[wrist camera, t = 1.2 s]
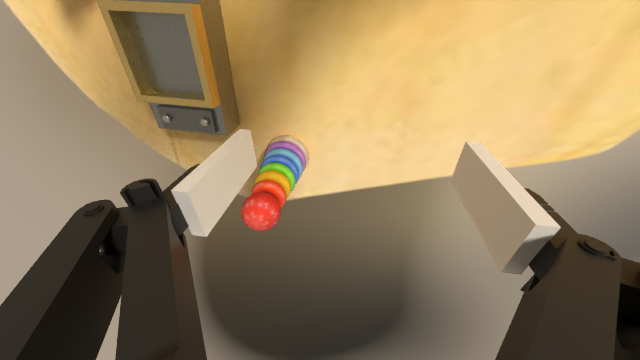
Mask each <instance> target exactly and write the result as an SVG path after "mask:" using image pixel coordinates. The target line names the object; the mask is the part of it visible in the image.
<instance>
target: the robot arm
mask: <svg viewBox="0 0 640 360" xmlns="http://www.w3.org/2000/svg"><path fill="white" fill-rule="evenodd" d="M256 167H257V162H256V157H255V151H254V146H253V141H252V136H251V131H250V130H245V129H239V130H238V131H237V132H235V133H234V134H233V135H232V136H231V137H230V138H229V139H228V140H227V141H225V142H224V143H223V144H222V145H221V146H220V147H219V148H218V149H217V150H215V151H214V152H213V153H212V154H211V155H210V156H209V157H208V158H207V159H205V160H204V161H203V162H202V163H201V164H197V165H195V166H193V167H191V168H190V169H188V170H187V171H186V172H185V173H184V174H183V175H182V176H180V177H179V178H178V180H176V181H175V182H174V183H172V184H171V185H170V186H169V187H168V188H166V189H165V190H164V191H163V192H162V190H161V188H160V186H159V184H158V182H157V181H156V180H154V179H143V180H138V181H135V182H132V183H131V184H129V185H127V186H125V187H124V188H123V189H122V190H121V192H120V194H121V195H122V197H123V198H124V200H125V201H126V203H127V204H128V206H129V207H122V208H116V207H115V205H114V204H113V203H112V201H110V200H99V201H95V202H91V203H90V204H86V205H85V206H83V207H82V208H80V209H79V210H78V211H76V212H75V213H74V215H73V216H72V217H71V218H70V220H69V221H68V222H67V223H66V225H65V226H64V227H63V228H62V230H61V231H60V232H59V233H58V235H57V236H56V237H55V238H54V240H53V241H52V242H51V243H50V245H49V246H48V247H47V248H46V250H45V251H44V252H43V253H42V255H41V256H40V257H39V258H38V260H37V261H36V262H35V263H34V265H33V266H32V267H31V268H30V270H29V271H28V272H27V273H26V275H25V276H24V277H23V278H22V280H21V281H20V282H19V283H18V284H17V286H16V287H15V288H14V289H13V291H12V292H11V293H10V294H9V296H8V297H7V298H6V299H5V301H4V302H3V303H2V304H1V306H0V360H96V358H97V355H98V353H99V350H100V347H101V345H102V342H103V340H104V337H105V335H106V332H107V330H108V327H109V325H110V322H111V320H112V317H113V314H114V312H115V309H116V307H117V304H118V302H119V299H120V297H121V294H122V297H121V306H120V317H119V327H118V338H117V348H116V359H115V360H207V357H206V351H205V346H204V340H203V335H202V329H201V323H200V317H199V311H198V305H197V300H196V294H195V289H194V283H193V277H192V271H191V265H190V260H189V254H188V248H187V243H186V237H185V236H184V233H183V232H184V231H185V230H186V228H187V227H189V229H190V231H191V233H192V235H196V236H205V237H207V236H208V234H209V233H210V231H211V230H212V229H213V227H214V226H215V224H216V223H217V222H218V220H219V219H220V217H221V216H222V215H223V213H224V212H225V210H226V209H227V208H228V206H229V205H230V203H231V202H232V201H233V199H234V198H235V196H236V195H237V194H238V192H239V191H240V189H241V188H242V187H243V185H244V184H245V182H246V181H247V180H248V178H249V177H250V175H251V174H252V173H253V171H254V170H255V168H256ZM451 182H452V184H453V186H454V187H455V189H456V191H457V193H458V195H459V197H460V198H461V200H462V202H463V204H464V206H465V208H466V210H467V211H468V213H469V215H470V217H471V219H472V221H473V222H474V224H475V226H476V228H477V230H478V232H479V233H480V235H481V237H482V239H483V241H484V243H485V244H486V246H487V248H488V250H489V252H490V254H491V255H492V257H493V259H494V261H495V263H496V264H497V266H498V268H499V270H500V272H505V273H513V274H522V273H523V271H524V270H525V269H526V268H527V267H528V265H529V266H530V267H531V269H532V270H533V272H534V273H535V274H534V275H533V276H532V277H531V279H530V280H529V281H528V282H527V283H526V284H525V285H524V286H523V287H522V289H521V290H522V291H523V292H524V291H525V292H524V294H523V296H522V299H521V301H520V303H519V306H518V308H517V310H516V313H515V315H514V317H513V320H512V322H511V324H510V326H509V329H508V331H507V333H506V336H505V338H504V340H503V343H502V345H501V347H500V350H499V352H498V354H497V357H496V359H495V360H640V263H638V262H634V261H631V260H627V259H624V258H621V257H620V255H619V254H618V253H617V252H616V251H615V250H614V249H613V248H611V247H610V246H609V245H607V244H606V243H604V242H602V241H600V240H598V239H595V238H593V237H590V236H587V235H582V234H578V233H576V231H575V230H574V229H573V228H571V226H570V225H569V224H568V223H566V221H565V220H564V219H563V218H562V217H561V216H560V215H559V214H558V213H556V212H554V209H552V207H551V206H549V205H548V203H547V202H546V201H544V199H543V198H541V196H539V195H538V194H536V193H534V192H533V191H531V190H529V189H525V188H523V187H522V186H521V185H520V184H519V183H518V182H517V181H516V180H515V178H514V177H513V176H512V175H511V174H510V173H509V172H508V171H507V170H506V169H505V168H504V167H503V166H502V165H501V164H500V163H499V162H498V161H497V160H496V158H495V157H494V156H493V155H492V154H491V153H490V152H489V151H488V150H487V149H486V148H485V147H484V146H483V145H482V144H481V143H480V142H466V143H465V145H464V148H463V150H462V153H461V155H460V158H459V161H458V163H457V166H456V168H455V171H454V173H453V176H452V179H451ZM99 249H100V250H101V252H100V251H99Z"/></svg>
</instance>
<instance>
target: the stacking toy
mask: <svg viewBox="0 0 640 360" xmlns="http://www.w3.org/2000/svg"><path fill="white" fill-rule="evenodd" d="M308 161H309V154H308V150H307V148H306V146H305V145H304V144H303V143H302V142H301V141H300V140H299V139H297V138H295V137H292V136H279V137H276V138H275V139H273V140H272V141H271V142H270V144H269V145H268V148H267V150H266V152H265V156H264V159H263V163H262V164H261V167H260V171H259V174H258V176H257V178H256V180H255V185H254V187H253V188H252V191H251V196H249V197H248V198H247V199H246V200H245V202H244V203H243V206H242V211H241V215H242V219H243V221H244V223H245V224H246V225H247V226H248V227H249V228H251V229H253V230H257V231H264V230H268V229H270V228H272V227H273V226H274V225H275V224H276V223H277V222H278V220H279V218H280V214H281V207H282V206H283V205H284V204H285V202H286V198H287V197H288V196H289V194H290V192H291V191H292V190H293V188H294V186H295V184H296V183H297V181H298V179H299V178H300V177H301V175H302V172H303V171H304V169H305V168H306V166H307V164H308Z"/></svg>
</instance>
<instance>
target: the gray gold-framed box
mask: <svg viewBox="0 0 640 360" xmlns="http://www.w3.org/2000/svg"><path fill="white" fill-rule="evenodd" d="M97 3H98V5H99V8H100V10H101V13H102V15H103V18H104V20H105V22H106V25H107V27H108V30H109V32H110V35H111V37H112V40H113V42H114V45H115V47H116V49H117V52H118V54H119V57H120V59H121V62H122V64H123V67H124V69H125V71H126V74H127V76H128V79H129V81H130V84H131V86H132V89H133V91H134V93H135V96H136V98H137V101H139V102H150V105H151V107H152V110H153V113H154V115H155V118H156V120H157V123H158V126H159V128H164V129H173V130H183V131H193V132H203V133H212V134H222V135H227V134H229V133H230V132H231V131H232V130H233V129H234V128H236V127H237V126H238V125H239V124H240V121H239V115H238V109H237V103H236V97H235V91H234V85H233V79H232V73H231V67H230V61H229V55H228V49H227V43H226V37H225V31H224V25H223V19H222V13H221V7H220V1H219V0H97Z"/></svg>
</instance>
